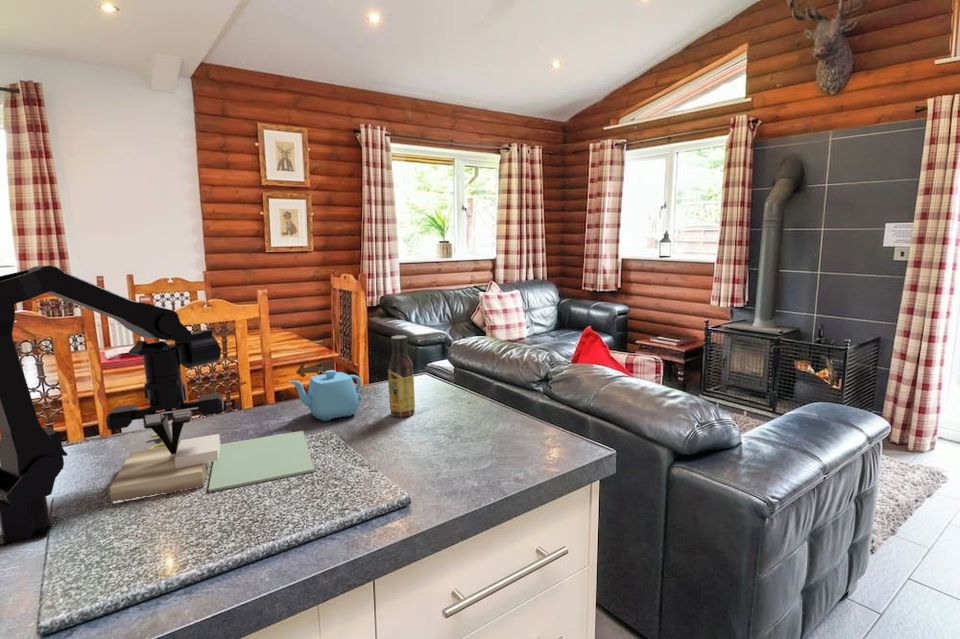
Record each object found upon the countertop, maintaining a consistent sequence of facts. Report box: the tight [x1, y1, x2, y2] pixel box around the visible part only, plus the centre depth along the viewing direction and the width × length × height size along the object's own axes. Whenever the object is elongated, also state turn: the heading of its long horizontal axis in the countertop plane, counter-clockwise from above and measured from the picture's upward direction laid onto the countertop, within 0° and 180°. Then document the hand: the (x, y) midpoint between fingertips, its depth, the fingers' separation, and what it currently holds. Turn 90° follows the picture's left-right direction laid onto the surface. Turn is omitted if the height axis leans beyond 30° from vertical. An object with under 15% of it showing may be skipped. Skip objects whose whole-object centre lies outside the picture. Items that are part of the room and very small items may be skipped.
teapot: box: [287, 369, 363, 422], centre depth 133 cm, size 12×18×12 cm
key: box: [148, 433, 181, 449], centre depth 117 cm, size 7×12×2 cm, turn 57°
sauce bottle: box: [387, 334, 416, 418], centre depth 131 cm, size 7×6×20 cm
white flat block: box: [175, 433, 221, 468], centre depth 103 cm, size 10×7×2 cm
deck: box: [109, 444, 210, 503], centre depth 101 cm, size 18×14×3 cm
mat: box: [208, 430, 315, 493], centre depth 108 cm, size 24×18×1 cm
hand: (174, 453), depth 101 cm, fingers closed
